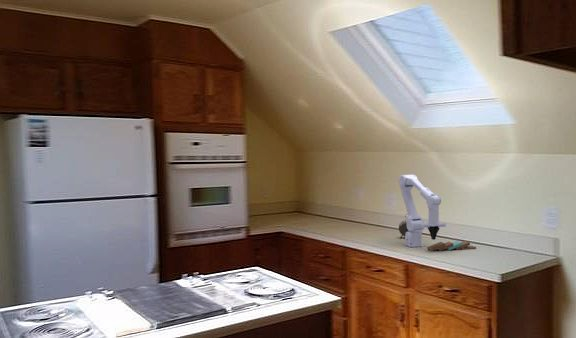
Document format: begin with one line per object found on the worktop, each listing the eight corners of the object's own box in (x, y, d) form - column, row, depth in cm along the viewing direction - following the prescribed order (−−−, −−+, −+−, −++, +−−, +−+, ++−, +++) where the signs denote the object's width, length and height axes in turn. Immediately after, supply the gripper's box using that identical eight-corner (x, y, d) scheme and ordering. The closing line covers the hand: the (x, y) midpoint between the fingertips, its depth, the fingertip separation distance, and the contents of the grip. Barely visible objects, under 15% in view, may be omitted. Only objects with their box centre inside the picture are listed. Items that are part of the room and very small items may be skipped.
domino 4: (462, 247, 294) (476, 247, 296) (457, 246, 299) (471, 245, 301) (462, 250, 295) (476, 249, 296) (457, 248, 299) (471, 248, 301)
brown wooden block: (430, 248, 290) (444, 243, 292) (427, 247, 295) (440, 241, 297) (431, 251, 291) (445, 245, 292) (427, 249, 296) (441, 244, 297)
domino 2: (439, 248, 291) (452, 243, 293) (435, 246, 296) (448, 241, 298) (439, 251, 291) (453, 245, 293) (435, 249, 296) (449, 244, 298)
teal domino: (448, 247, 292) (461, 242, 294) (443, 246, 297) (457, 241, 299) (448, 250, 292) (462, 245, 294) (444, 248, 297) (457, 243, 299)
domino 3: (456, 247, 294) (469, 242, 296) (451, 245, 298) (464, 240, 301) (457, 249, 294) (470, 244, 296) (452, 248, 299) (465, 243, 301)
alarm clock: (414, 237, 335) (414, 213, 334) (416, 238, 329) (417, 214, 328) (398, 237, 335) (398, 213, 334) (400, 239, 329) (400, 214, 328)
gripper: (425, 217, 287) (425, 241, 288) (448, 216, 290) (448, 240, 291) (419, 215, 294) (419, 239, 295) (442, 215, 297) (442, 237, 297)
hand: (433, 239), depth 293 cm, fingers closed
